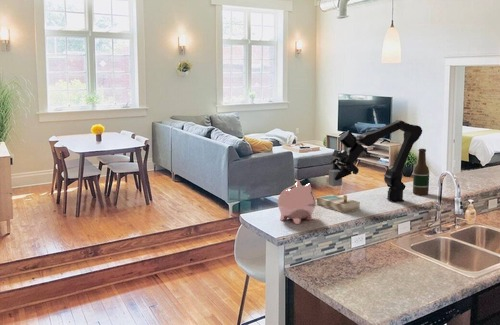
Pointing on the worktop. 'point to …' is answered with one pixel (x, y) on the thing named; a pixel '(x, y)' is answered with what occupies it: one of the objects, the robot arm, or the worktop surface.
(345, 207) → the stand
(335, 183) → the grey block
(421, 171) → the beer bottle
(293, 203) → the piggy bank
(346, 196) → the brass pin
